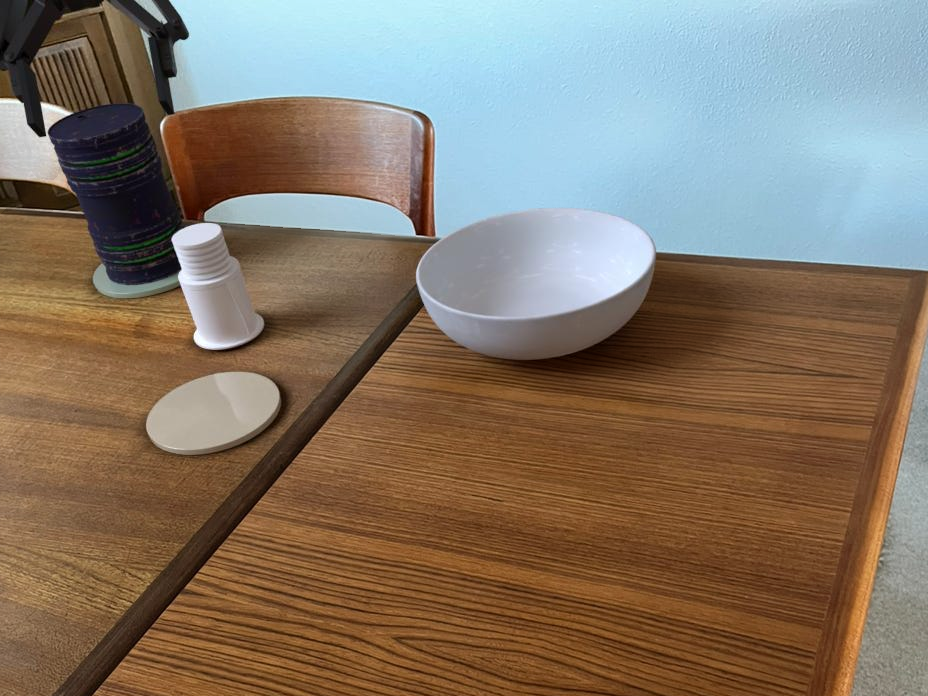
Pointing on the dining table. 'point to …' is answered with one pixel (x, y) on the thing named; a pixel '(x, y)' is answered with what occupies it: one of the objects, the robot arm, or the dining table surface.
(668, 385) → the dining table surface
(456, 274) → the serving bowl
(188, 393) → the near coaster
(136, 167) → the storage jar
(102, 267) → the far coaster
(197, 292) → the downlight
